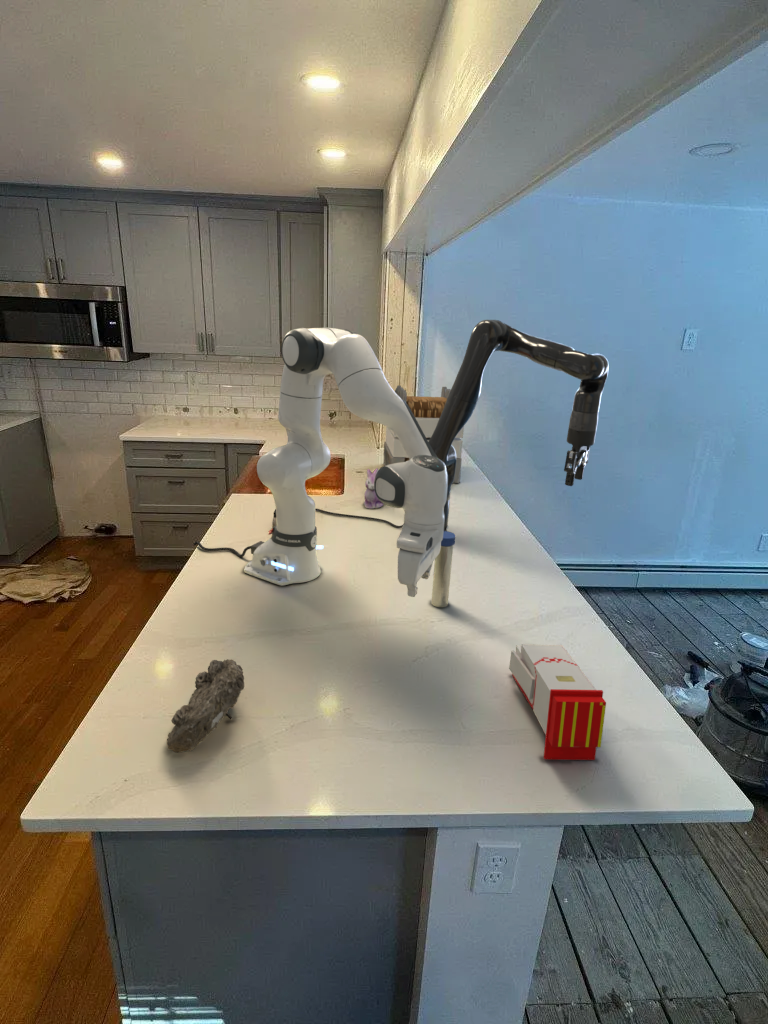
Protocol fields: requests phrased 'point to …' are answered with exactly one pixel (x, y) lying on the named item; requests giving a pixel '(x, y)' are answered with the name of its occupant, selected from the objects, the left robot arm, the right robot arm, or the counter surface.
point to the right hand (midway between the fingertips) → (573, 482)
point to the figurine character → (274, 519)
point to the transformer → (427, 418)
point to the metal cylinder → (442, 577)
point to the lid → (448, 539)
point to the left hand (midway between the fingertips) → (419, 586)
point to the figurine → (371, 491)
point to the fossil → (206, 705)
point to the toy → (560, 700)
